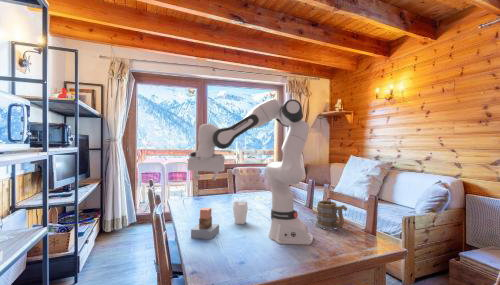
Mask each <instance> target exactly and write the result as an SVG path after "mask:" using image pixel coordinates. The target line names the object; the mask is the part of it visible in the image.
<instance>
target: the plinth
mask: <svg viewBox="0 0 500 285" xmlns="http://www.w3.org/2000/svg"><path fill="white" fill-rule="evenodd" d="M219 232H220V224H219V223H218V224H216V223H212V226H211V227H210V228H208V229H203V228H199V223H198V224H197V225H195V226H194V227H192V228H191V229H190V238H195V239H196V238H197V239H204V240H212V239H213V238H214V237H215V236H216V235H217V234H218V233H219Z"/></svg>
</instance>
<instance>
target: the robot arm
mask: <svg viewBox="0 0 500 285" xmlns="http://www.w3.org/2000/svg"><path fill="white" fill-rule="evenodd" d="M303 119H304V112H303V106H302V104H301V103H300V101H299V100H297V99H293V98H291V99H287V100H286V101H285V102H284V103H283V104H281V103H280V102H279V100H277V99H276V98H271V99H268V100H266V101H263V102H262V103H260V104H258V105H256V106H255V107H253V108H252V109H251V110H249V112H247V114H245V116H244V118H242V119H240V120H239V121H237V122H236V123H234V124H232V125H230V126H229V127H222V128H220V127H219V126H217V125H215V124H214V123H204V124H201V125H199V128H198V133H197V141H198V146H197V150H195V151H192V152H190V153H189V154H188V156H189V158H188V160H187V170H188V172H189V171H192V172H193V174H194V175H195V180H200V179H201V176H200V175H199V174H198V173H199V172H213V173H214V175H213V176H212V181H216V180H217V176H218V174H219V172H220V173H221V172H224V171H225V169H226V168H225V159H226V158H225V155H223V154H222V153H215V148H218V149H221V150H225V149H228V148H229V147H230V146H232V144H233V143H234V141H235V140H236V138H238V137H239V136H240V135H243V134H244V133H246V132H247V131H249V130H252V129H255V128H256V129H257V128H260V127H262V126H265V125H266V124H268V123H270V122H272V121H273V120H275V121H277V122H278V123H279V124H280V125H281V126H283V127H285V128H288V131H287V133H286V136H285V138H284V141H283V143H282V145H281V152H282V158H281V159H282V160H281V161H278V160H277V161H276V160H275V161H272V162H269V163H267V164H266V166H265V168H264V173H265V177H266V178H267V179H268V183H269V186H270V190H271V209H270V210H271V211H270V218H271V220H270V222H271V225H270V229H269V234H268V238H270V239H271V240H272V241H275V242H276V243H277V244H279V245H280V244H282V245H284V244H285V245H307V246H308V245H311V244H312V243H313V242H314V236H313V235H312V233H310V232H309V228H308V226H307V224H306V223H305V222H304V221H302V220H301V219H300V218H299V217H298V216H299V215H298V211H297V210H295V209H294V194H293V192H292V190H291V188H290V185H291V186H292V185H297V184H299V183H300V182H302V180H303V177H304V171H303V168H302V166H301V160H302V159H301V158H302V154H303V151H304V148H305V146H306V143H307V140H308V136H309V133H310V125H309V123H307V122H306V121H305V120H303Z"/></svg>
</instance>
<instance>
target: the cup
mask: <svg viewBox="0 0 500 285" xmlns="http://www.w3.org/2000/svg"><path fill="white" fill-rule="evenodd" d="M232 206H233V207H232V210H233V217H234V223H235V224H237V225H243V224H246V222H247V214H248V209H249V208H248V202H247V201H242V200H241V201H234V202H233V205H232Z"/></svg>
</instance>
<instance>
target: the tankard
mask: <svg viewBox="0 0 500 285" xmlns="http://www.w3.org/2000/svg"><path fill="white" fill-rule="evenodd" d="M316 210H317V213H316V214H317V215H316V221H315V227H316V226H318V227H317V228H319V227H321V228H325V229H324V230H326V229H334V228H339V229H340V228H343V226H344V224H345V219H344V216H343V210H344V211H348V207H347V206H346V205H345V204H342V205H340V206H338V205H337V203H336V202H335V201H333V200H332V201H330V200H319V201H317V206H316ZM338 218H339V222H338ZM321 228H320V229H321Z"/></svg>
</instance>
